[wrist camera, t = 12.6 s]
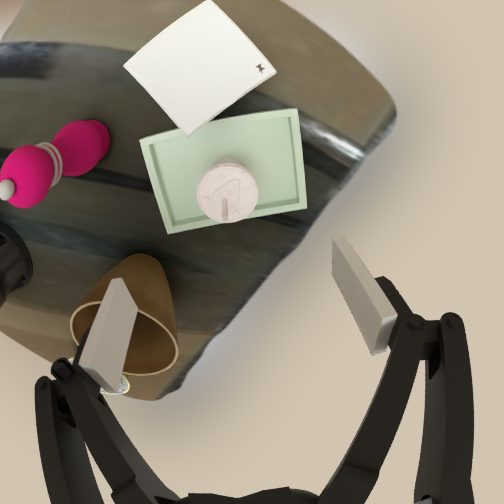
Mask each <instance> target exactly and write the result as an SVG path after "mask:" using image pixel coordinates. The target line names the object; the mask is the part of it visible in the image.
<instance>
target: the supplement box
mask: <svg viewBox="0 0 504 504" xmlns="http://www.w3.org/2000/svg"><path fill="white" fill-rule="evenodd" d="M123 66H124V67H125V68H126V69H127V70H128V71H129V72H130V73H131V74H132V76H133V77H134V78H135V79H136V80H137V81H138V82H139V83H140V84H141V85H142V86H143V87H144V88H145V89H146V91H147V92H148V93H149V94H150V95H151V96H152V97H153V98H154V100H155V101H156V102H157V103H158V104H159V105H160V106H161V108H162V109H163V110H164V111H165V112H166V113H167V115H168V116H169V117H170V118H171V119H172V120H173V122H174V123H175V124H176V125H177V126H178V127H179V129H180V130H181V131H182V132H183V133H184V134H185V136H186V137H190V136H192V135H193V134H194V133H195V132H196V131H198V130H199V129H200V128H201V127H203V126H204V125H205V124H206V123H208V122H209V121H210V120H212V119H213V118H214V117H215V116H217V115H218V114H219V113H221V112H222V111H223V110H225V109H226V108H227V107H229V106H230V105H231V104H233V103H234V102H235V101H237V100H238V99H239V98H241V97H242V96H244V95H245V94H246V93H248V92H249V91H251V90H252V89H254V88H255V87H257V86H258V85H259V84H261V83H262V82H264V81H265V80H267V79H269V78H270V77H272V76H273V75H275V74H276V73H277V72H276V70H275V69H274V67H273V66H272V65H271V64H270V62H269V61H268V60H267V59H266V57H265V56H264V55H263V54H262V53H261V52H260V50H259V49H258V48H257V47H256V46H255V45H254V44H253V43H252V41H251V40H250V39H249V38H248V37H247V36H246V35H245V34H244V33H243V32H242V31H241V29H240V28H239V27H238V26H237V25H236V24H235V23H234V22H233V21H232V20H231V19H230V18H229V17H228V16H227V15H226V14H225V13H224V12H223V11H222V10H221V9H220V8H219V7H218V6H217V5H216V4H215V3H214V2H213V1H212V0H206V1H205V2H203V3H201V4H200V5H198V6H197V7H195V8H194V9H192V10H191V11H189V12H188V13H186V14H185V15H183V16H182V17H181V18H179V19H178V20H176V21H175V22H174V23H172V24H171V25H170V26H168V27H167V28H166V29H164V30H163V31H162V32H161V33H159V34H158V35H157V36H156V37H154V38H153V39H152V40H151V41H150V42H148V43H147V44H146V45H145V46H144V47H143V48H141V49H140V50H139V51H138V52H137V53H136V54H135V55H134V56H133V57H132V58H131V59H129V60H128V61H127V62H126V63H125V64H124V65H123Z"/></svg>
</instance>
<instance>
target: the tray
mask: <svg viewBox="0 0 504 504" xmlns="http://www.w3.org/2000/svg"><path fill="white" fill-rule="evenodd" d="M139 141H140V144H141V148H142V152H143V155H144V159H145V163H146V166H147V170H148V173H149V177H150V180H151V183H152V187H153V190H154V193H155V197H156V200H157V203H158V206H159V209H160V212H161V215H162V218H163V221H164V224H165V227H166V230H167V233H168V234H171V233H176V232H181V231H186V230H191V229H196V228H201V227H206V226H211V225H216V224H221V223H222V222H218V221H215V220H212V219H211V218H209V217H208V216H206V215H205V214H204V213H203V211H202V210H201V209H200V207H199V205H198V202H197V186H198V183H199V180H200V178H201V177H202V175H203V174H204V173H205V172H206V171H207V170H208V169H210V168H211V167H212V166H213V165H214V164H215V162H216V161H217V160H218V159H220V158H222V157H232V158H234V159H236V160H237V161H238V163H239V164H240V165H241V166H243V167H244V168H246V169H247V170H249V171H250V172H251V174H252V175H253V176H254V178H255V180H256V182H257V185H258V201H257V204H256V206H255V208H254V209H253V211H252V212H251V213H250V214H249V215H248V216H247V217H245V218H244V219H248V218H253V217H259V216H264V215H270V214H276V213H282V212H287V211H293V210H299V209H305V208H307V200H306V187H305V175H304V164H303V154H302V144H301V135H300V126H299V118H298V110H297V108H283V109H274V110H266V111H259V112H252V113H246V114H240V115H234V116H228V117H223V118H218V119H213V120H210V121H209V122H208V123H206V124H205V125H204V126H203V127H201V128H200V129H199V130H198V131H196V132H195V133H194V134H193V135H192V136H190V137H186V136H185V134H184V133H183V132H182V131H181V130H180V129H179V127H178V128H174V129H170V130H167V131H163V132H159V133H156V134H152V135H149V136H146V137H143V138H142V139H140V140H139Z"/></svg>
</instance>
